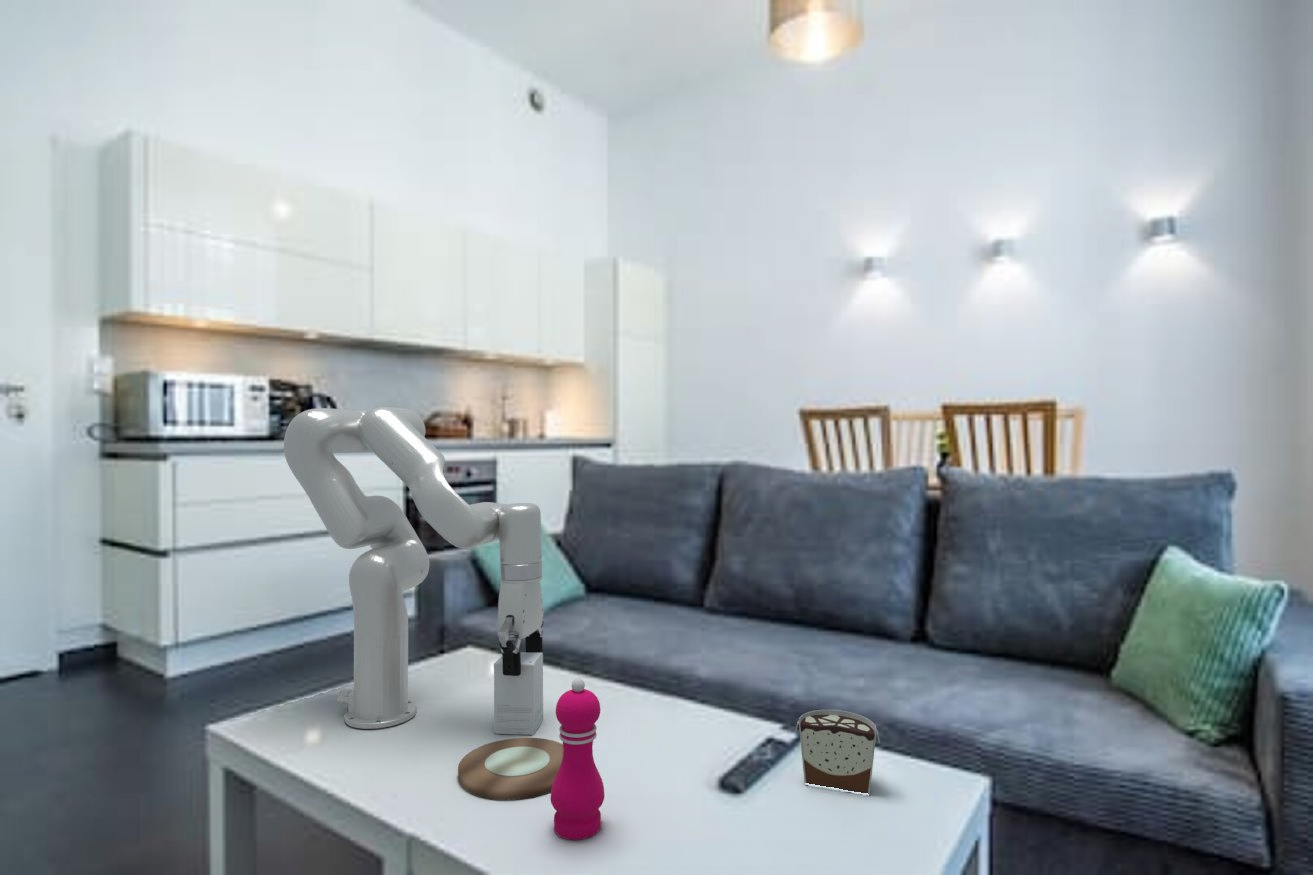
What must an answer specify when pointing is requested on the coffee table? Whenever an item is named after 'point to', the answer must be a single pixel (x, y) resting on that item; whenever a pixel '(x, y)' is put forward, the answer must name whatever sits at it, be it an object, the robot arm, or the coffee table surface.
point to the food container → (837, 749)
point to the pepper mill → (577, 766)
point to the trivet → (511, 768)
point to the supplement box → (519, 696)
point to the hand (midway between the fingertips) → (523, 666)
